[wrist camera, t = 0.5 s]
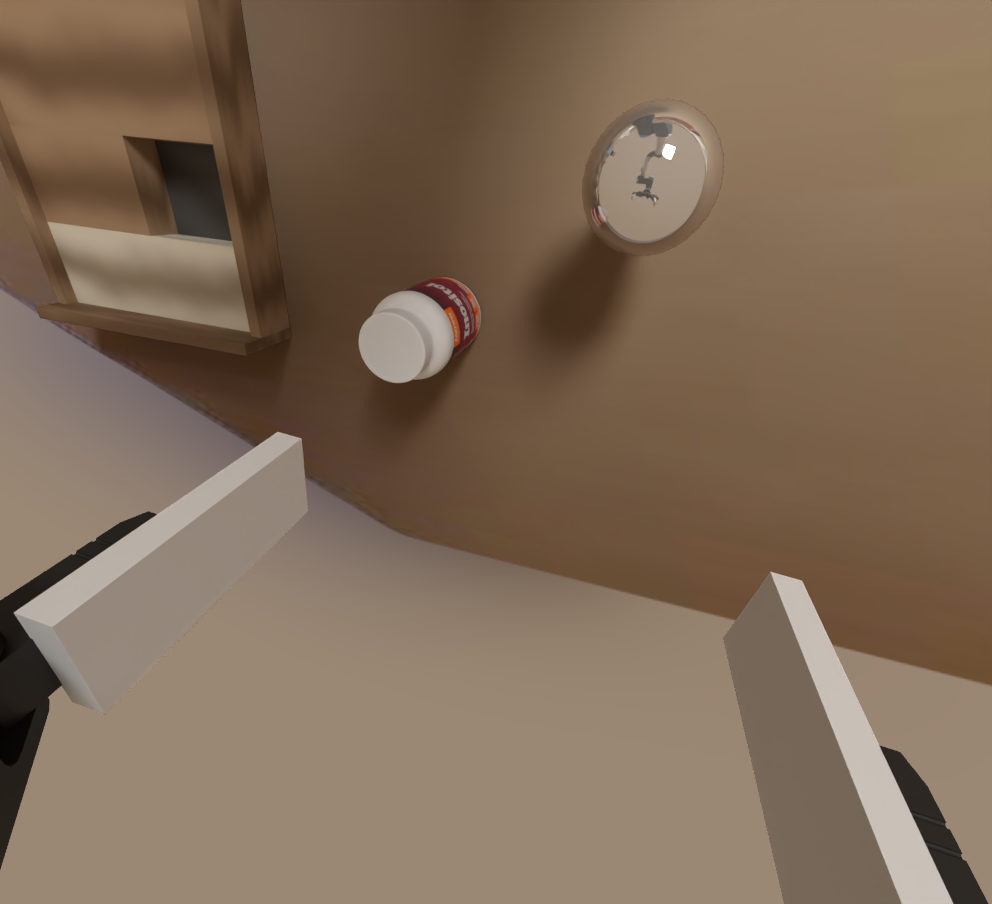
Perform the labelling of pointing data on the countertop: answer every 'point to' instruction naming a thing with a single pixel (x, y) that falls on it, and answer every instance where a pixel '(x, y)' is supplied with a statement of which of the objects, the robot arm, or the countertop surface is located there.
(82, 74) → the board
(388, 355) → the pill bottle
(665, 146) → the light bulb
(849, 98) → the countertop surface
